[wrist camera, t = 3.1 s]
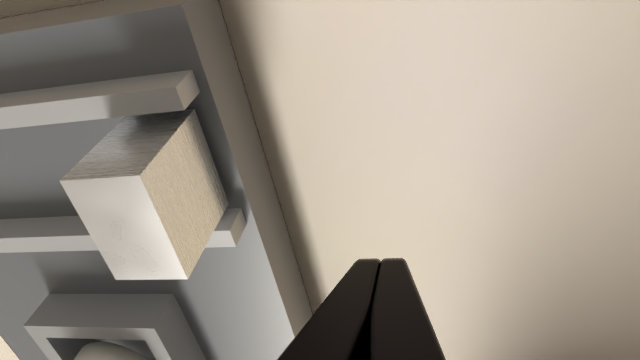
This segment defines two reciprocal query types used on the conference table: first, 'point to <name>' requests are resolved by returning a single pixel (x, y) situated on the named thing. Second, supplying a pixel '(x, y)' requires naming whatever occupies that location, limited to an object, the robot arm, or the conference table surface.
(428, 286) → the conference table surface
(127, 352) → the white button
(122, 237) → the block
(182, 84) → the control panel
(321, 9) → the conference table surface
